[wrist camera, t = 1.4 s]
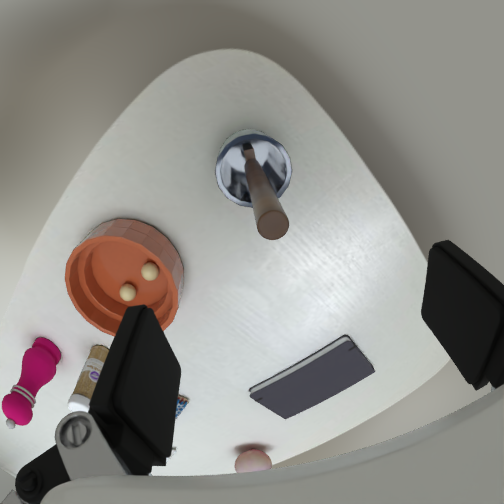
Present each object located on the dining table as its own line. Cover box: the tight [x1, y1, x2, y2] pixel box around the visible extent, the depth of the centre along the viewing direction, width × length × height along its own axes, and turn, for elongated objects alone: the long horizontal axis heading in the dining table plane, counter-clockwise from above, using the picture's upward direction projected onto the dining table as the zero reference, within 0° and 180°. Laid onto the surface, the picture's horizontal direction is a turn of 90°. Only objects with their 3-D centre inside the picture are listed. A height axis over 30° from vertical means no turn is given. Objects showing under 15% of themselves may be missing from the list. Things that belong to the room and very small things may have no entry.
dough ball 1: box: [120, 284, 136, 301], centre depth 39 cm, size 2×2×2 cm
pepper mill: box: [2, 338, 61, 429], centre depth 37 cm, size 7×7×20 cm
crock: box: [215, 129, 292, 208], centre depth 31 cm, size 7×7×8 cm
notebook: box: [249, 335, 375, 419], centre depth 52 cm, size 13×2×21 cm
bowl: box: [65, 219, 184, 337], centre depth 37 cm, size 15×15×6 cm
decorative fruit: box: [235, 449, 272, 473], centre depth 60 cm, size 9×8×10 cm
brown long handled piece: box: [242, 144, 289, 240], centre depth 24 cm, size 4×2×21 cm, turn 11°
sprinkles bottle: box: [68, 345, 109, 413], centre depth 41 cm, size 5×5×13 cm
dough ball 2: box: [141, 262, 159, 281], centre depth 38 cm, size 2×2×2 cm
